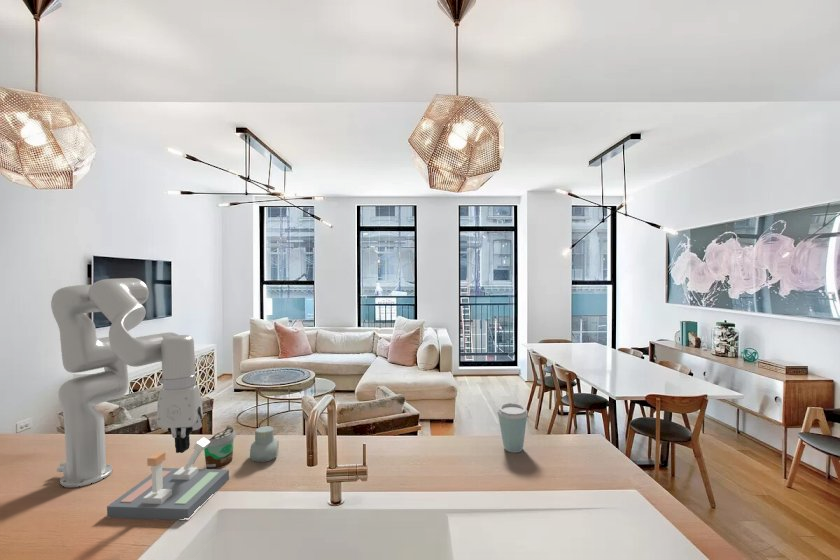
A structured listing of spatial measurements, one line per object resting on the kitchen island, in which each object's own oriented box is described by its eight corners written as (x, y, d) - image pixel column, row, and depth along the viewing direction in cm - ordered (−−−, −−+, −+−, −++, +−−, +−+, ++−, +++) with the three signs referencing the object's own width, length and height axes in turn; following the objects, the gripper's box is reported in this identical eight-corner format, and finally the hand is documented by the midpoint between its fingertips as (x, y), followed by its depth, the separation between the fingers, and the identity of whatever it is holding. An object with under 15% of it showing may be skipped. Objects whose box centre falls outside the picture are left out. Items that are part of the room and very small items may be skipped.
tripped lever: (148, 493, 109) (147, 458, 108) (158, 486, 112) (156, 452, 112) (157, 493, 108) (156, 458, 108) (166, 486, 112) (165, 452, 112)
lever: (180, 468, 120) (196, 442, 120) (188, 462, 124) (203, 437, 123) (187, 473, 120) (203, 447, 120) (194, 467, 124) (210, 441, 123)
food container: (220, 473, 130) (219, 442, 129) (203, 471, 131) (202, 440, 130) (244, 455, 142) (243, 426, 141) (228, 453, 143) (227, 425, 142)
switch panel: (107, 517, 107) (106, 500, 107) (160, 477, 127) (159, 463, 127) (188, 520, 106) (187, 503, 106) (229, 479, 126) (228, 465, 126)
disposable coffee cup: (531, 455, 140) (531, 412, 139) (499, 455, 140) (500, 412, 139) (524, 442, 150) (524, 401, 150) (494, 442, 151) (494, 401, 150)
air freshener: (254, 452, 144) (253, 424, 143) (279, 449, 146) (278, 421, 145) (249, 467, 133) (248, 437, 133) (275, 464, 135) (275, 434, 135)
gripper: (142, 386, 105) (145, 457, 106) (198, 386, 104) (201, 457, 105) (162, 378, 113) (165, 444, 113) (214, 378, 112) (217, 444, 112)
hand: (182, 450), depth 109 cm, fingers closed
